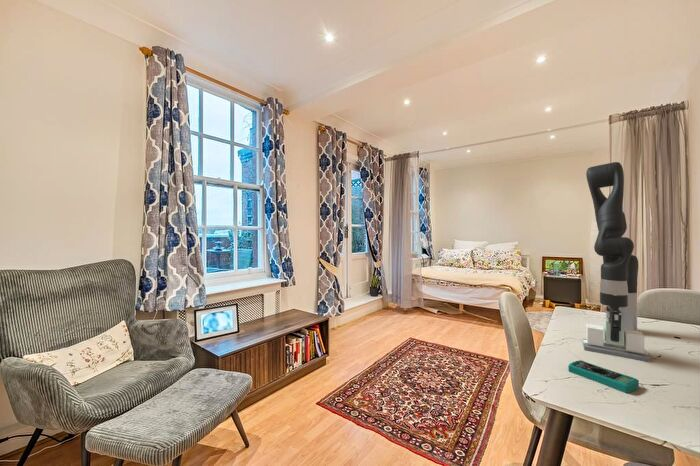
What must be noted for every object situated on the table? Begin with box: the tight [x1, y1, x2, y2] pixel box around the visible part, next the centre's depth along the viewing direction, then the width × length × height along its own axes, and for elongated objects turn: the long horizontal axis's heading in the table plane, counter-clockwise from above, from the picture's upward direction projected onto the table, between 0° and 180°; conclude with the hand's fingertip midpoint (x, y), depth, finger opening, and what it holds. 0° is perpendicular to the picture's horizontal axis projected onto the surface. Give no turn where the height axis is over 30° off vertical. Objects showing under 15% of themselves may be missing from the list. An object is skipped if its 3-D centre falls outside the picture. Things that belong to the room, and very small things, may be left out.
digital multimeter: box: [567, 360, 640, 394], centre depth 85 cm, size 7×15×3 cm, turn 27°
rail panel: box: [582, 323, 651, 363], centre depth 105 cm, size 10×17×8 cm, turn 54°
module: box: [603, 316, 623, 346], centre depth 105 cm, size 6×4×8 cm
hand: (613, 338), depth 105 cm, fingers closed on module, 5 cm apart
